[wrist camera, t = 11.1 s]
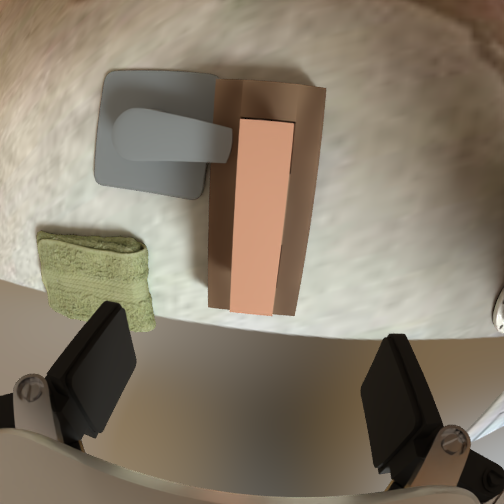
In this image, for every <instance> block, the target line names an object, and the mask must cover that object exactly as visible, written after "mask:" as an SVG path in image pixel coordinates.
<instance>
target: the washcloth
mask: <svg viewBox="0 0 504 504" xmlns="http://www.w3.org/2000/svg"><path fill="white" fill-rule="evenodd" d="M36 237H37V245H38V246H37V247H38V253H39V258H40V262H41V276H42V281H43V283H44V285H45V287H46V290H47V294H48V303H49V306H50V307H51V308H52V309H53V310H55V312H59V313H61V314H62V315H64V316H67V317H68V318H70V319H78V320H80V321H81V320H83V321H86V322H87V321H88V320H89V319H90V318H91V316H92V315H93V314H94V313H95V312H96V310H97V309H98V308H99V307H100V306H101V304H102V303H103V302H104V301H112V302H117V303H120V304H121V306H122V308H124V309H125V311H126V316H127V321H128V325H129V330H130V331H134V332H149V331H150V330H153V329H154V328H155V326H156V325H155V324H156V323H155V319H154V314H153V308H152V298H151V294H150V293H149V288H148V282H147V276H148V271H149V269H148V250H147V248H146V246H145V245H144V244H143V243H140V242H138V241H136V240H135V239H133V238H131V237H128V238H126V237H122V236H119V237H105V238H103V237H100V236H87V237H86V236H83V237H82V236H77V235H74V234H73V235H72V236H71V234H70V235H68V234H67V235H62V234H61V235H60V234H59V235H58V234H56V235H54V234H52V233H51V234H49V233H47V232H46V233H45V232H43V231H39V232H38V233H37V236H36Z"/></svg>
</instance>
